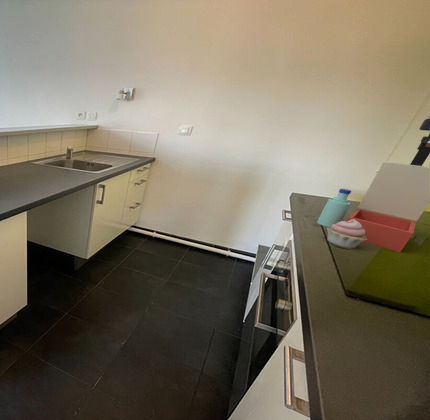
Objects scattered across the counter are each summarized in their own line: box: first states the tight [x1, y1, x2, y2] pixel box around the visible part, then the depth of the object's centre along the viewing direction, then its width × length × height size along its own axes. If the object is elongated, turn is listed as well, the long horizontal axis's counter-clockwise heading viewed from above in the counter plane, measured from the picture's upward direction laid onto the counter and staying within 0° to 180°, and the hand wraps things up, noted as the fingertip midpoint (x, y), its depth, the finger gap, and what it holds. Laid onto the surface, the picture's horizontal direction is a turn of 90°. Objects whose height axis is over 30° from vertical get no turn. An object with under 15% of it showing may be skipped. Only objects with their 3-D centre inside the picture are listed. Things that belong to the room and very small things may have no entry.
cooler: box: [346, 208, 417, 253], centre depth 88 cm, size 18×14×8 cm
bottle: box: [316, 188, 352, 228], centre depth 96 cm, size 6×6×16 cm
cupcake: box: [326, 219, 367, 251], centre depth 82 cm, size 9×9×10 cm
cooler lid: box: [357, 161, 430, 222], centre depth 87 cm, size 19×14×1 cm
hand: (401, 187), depth 88 cm, fingers closed
